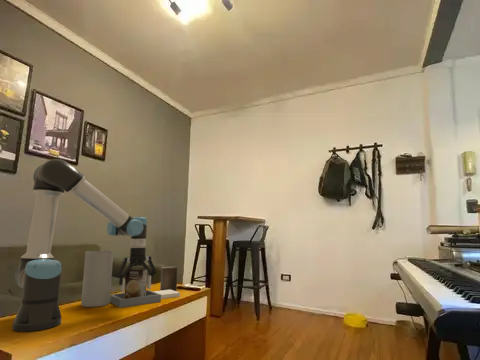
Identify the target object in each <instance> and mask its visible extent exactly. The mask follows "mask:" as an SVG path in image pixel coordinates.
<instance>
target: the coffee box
mask: <svg viewBox="0 0 480 360" xmlns="http://www.w3.org/2000/svg"><path fill="white" fill-rule="evenodd" d="M147 271H148V269H144V267H141V268H140V267H138V268H137V267H131V269H130V270H129V271H128V272H127V274H126V275H125V283H124V293H125V296H124V299H127V298H135V297H142V296H146V290H147V280H148V272H147Z"/></svg>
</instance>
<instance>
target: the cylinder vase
mask: <svg viewBox="0 0 480 360" xmlns="http://www.w3.org/2000/svg"><path fill="white" fill-rule="evenodd" d="M113 260H114V251H113V250H89V251H88V250H87V251H85V255H84V267H83V280H82V291H81V300H80V301H81V303H80V305H81V307H83V308H100V307H104V306H107V305H109V304H110V303H111V302H110V294H111V289H112V276H113V275H112V274H113V264H114V263H113V262H114V261H113Z"/></svg>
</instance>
